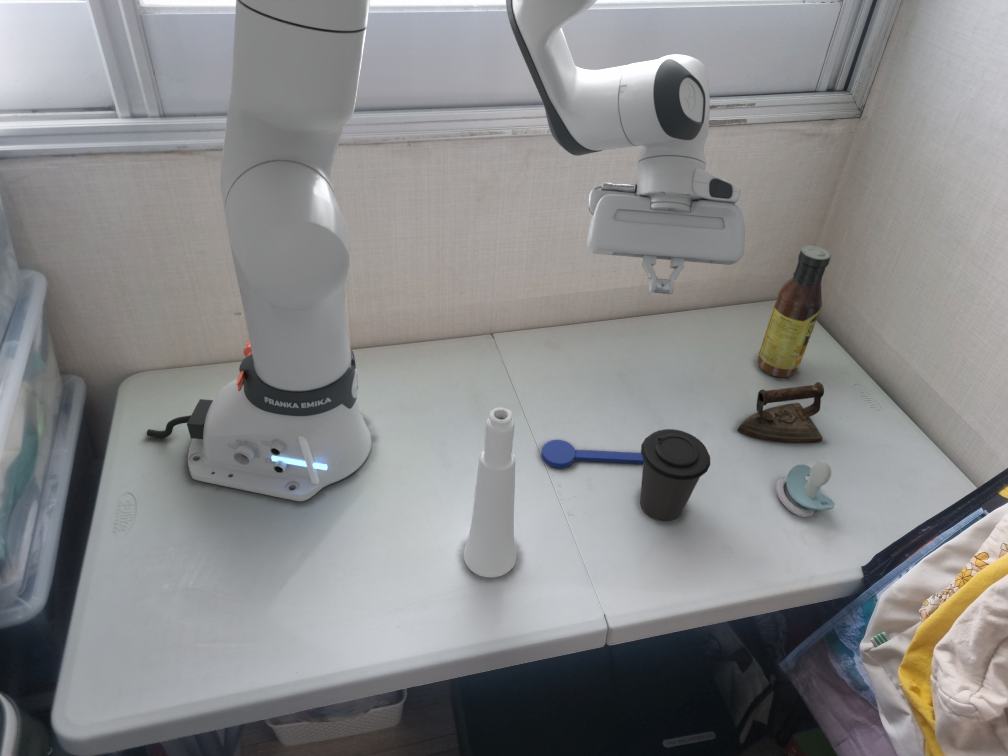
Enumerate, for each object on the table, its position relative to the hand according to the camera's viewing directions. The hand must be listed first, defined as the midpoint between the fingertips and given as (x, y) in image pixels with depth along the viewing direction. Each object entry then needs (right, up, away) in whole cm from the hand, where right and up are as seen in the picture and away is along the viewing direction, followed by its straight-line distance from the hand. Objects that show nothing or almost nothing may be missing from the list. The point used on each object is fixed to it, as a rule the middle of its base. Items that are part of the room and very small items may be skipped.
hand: (660, 293), depth 101 cm
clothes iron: (+17, -18, +6) cm, 26 cm away
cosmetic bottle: (-22, -32, -13) cm, 41 cm away
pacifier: (+17, -27, -3) cm, 32 cm away
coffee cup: (-1, -27, -6) cm, 28 cm away
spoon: (-8, -22, 0) cm, 23 cm away
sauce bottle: (+21, -9, +17) cm, 29 cm away
